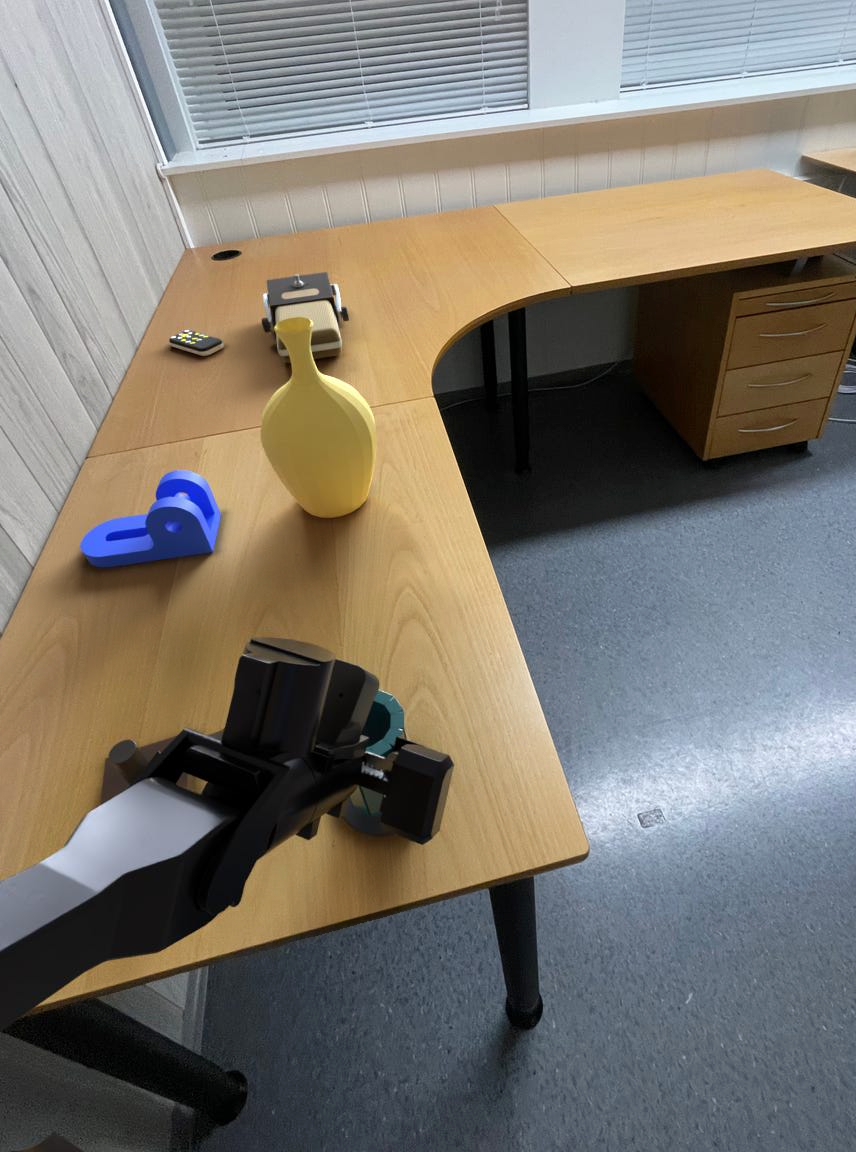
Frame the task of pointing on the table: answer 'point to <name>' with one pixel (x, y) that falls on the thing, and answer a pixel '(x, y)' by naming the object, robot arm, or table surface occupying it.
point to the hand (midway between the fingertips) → (379, 737)
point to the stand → (132, 766)
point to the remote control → (196, 343)
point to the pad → (364, 823)
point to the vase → (318, 432)
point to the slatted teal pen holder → (380, 745)
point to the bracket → (159, 526)
